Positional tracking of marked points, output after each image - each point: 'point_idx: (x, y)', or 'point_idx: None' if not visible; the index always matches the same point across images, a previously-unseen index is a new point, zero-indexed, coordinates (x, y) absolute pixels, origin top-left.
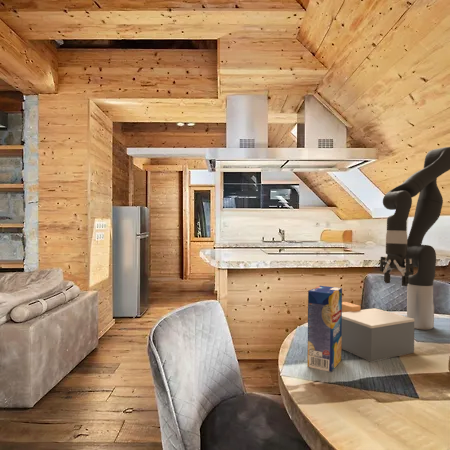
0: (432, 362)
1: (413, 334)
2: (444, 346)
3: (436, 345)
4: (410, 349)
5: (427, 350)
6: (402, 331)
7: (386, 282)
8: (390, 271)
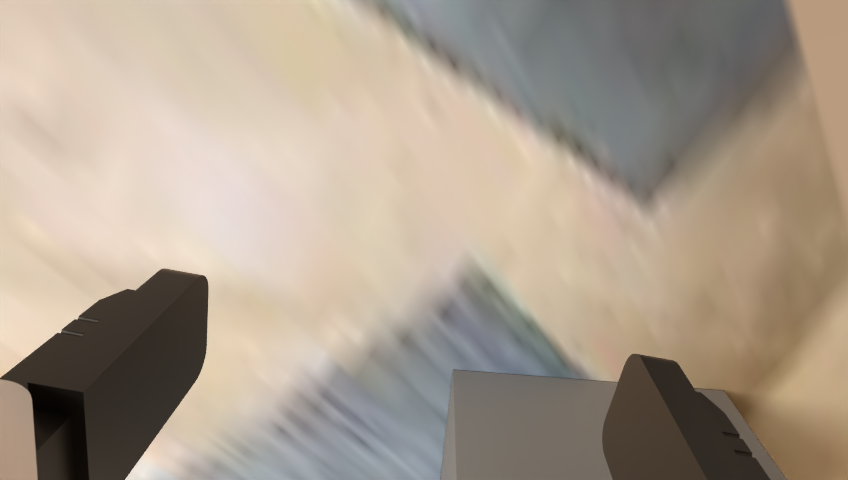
0: (841, 430)
1: (776, 474)
2: (819, 141)
3: (772, 170)
4: None
5: (763, 303)
6: None
7: (200, 364)
8: (36, 457)
